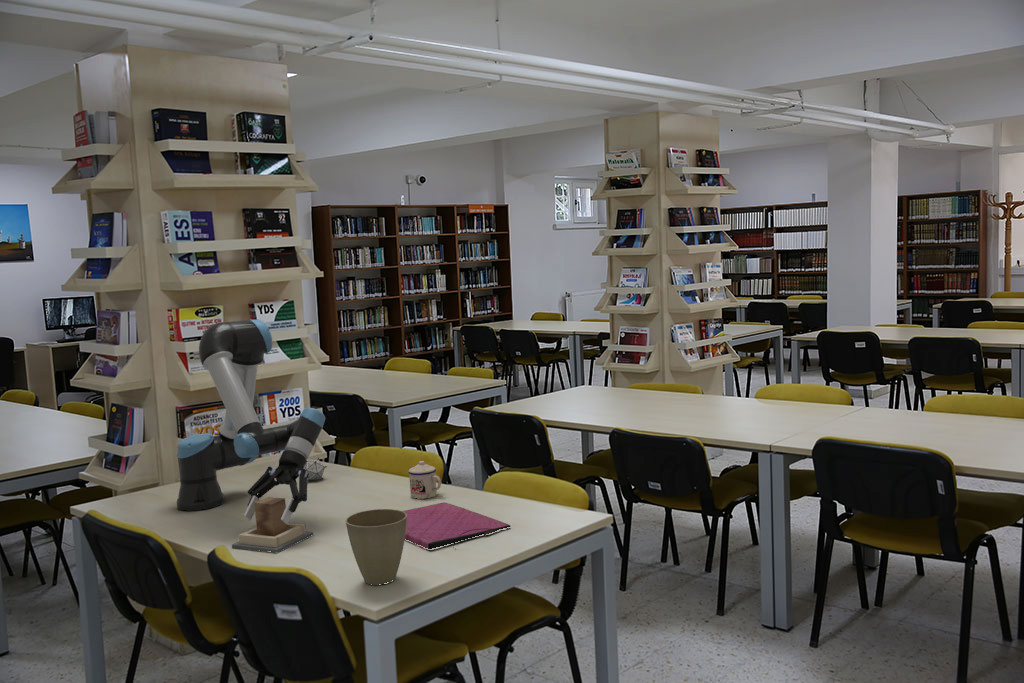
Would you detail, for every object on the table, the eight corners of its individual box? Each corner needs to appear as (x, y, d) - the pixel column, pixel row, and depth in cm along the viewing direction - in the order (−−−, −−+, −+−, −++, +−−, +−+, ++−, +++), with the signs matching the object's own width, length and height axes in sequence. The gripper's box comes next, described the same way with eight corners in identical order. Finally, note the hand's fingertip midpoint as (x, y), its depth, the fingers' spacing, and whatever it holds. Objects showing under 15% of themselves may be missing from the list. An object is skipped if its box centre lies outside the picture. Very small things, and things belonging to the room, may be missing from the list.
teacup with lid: (404, 497, 291) (402, 463, 289) (421, 491, 298) (419, 457, 297) (432, 501, 284) (430, 466, 283) (449, 494, 291) (447, 460, 290)
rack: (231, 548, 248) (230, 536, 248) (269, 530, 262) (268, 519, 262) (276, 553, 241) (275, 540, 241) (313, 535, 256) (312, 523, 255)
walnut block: (257, 540, 250) (254, 502, 249) (271, 533, 256) (268, 497, 255) (274, 542, 248) (271, 504, 247) (288, 535, 253) (285, 498, 252)
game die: (319, 490, 321) (322, 472, 315) (297, 483, 321) (299, 465, 315) (327, 473, 328) (330, 455, 322) (305, 466, 328) (308, 448, 322)
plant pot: (376, 596, 206) (371, 530, 204) (337, 583, 216) (333, 520, 214) (423, 577, 217) (419, 514, 215) (384, 565, 227) (380, 505, 225)
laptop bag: (366, 512, 264) (443, 496, 280) (367, 525, 264) (444, 508, 280) (435, 541, 232) (518, 521, 248) (436, 556, 232) (518, 535, 248)
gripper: (335, 464, 259) (307, 529, 246) (269, 460, 269) (239, 522, 257) (323, 450, 253) (293, 516, 241) (256, 447, 264) (224, 510, 252)
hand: (265, 519), depth 249 cm, fingers open, 13 cm apart
